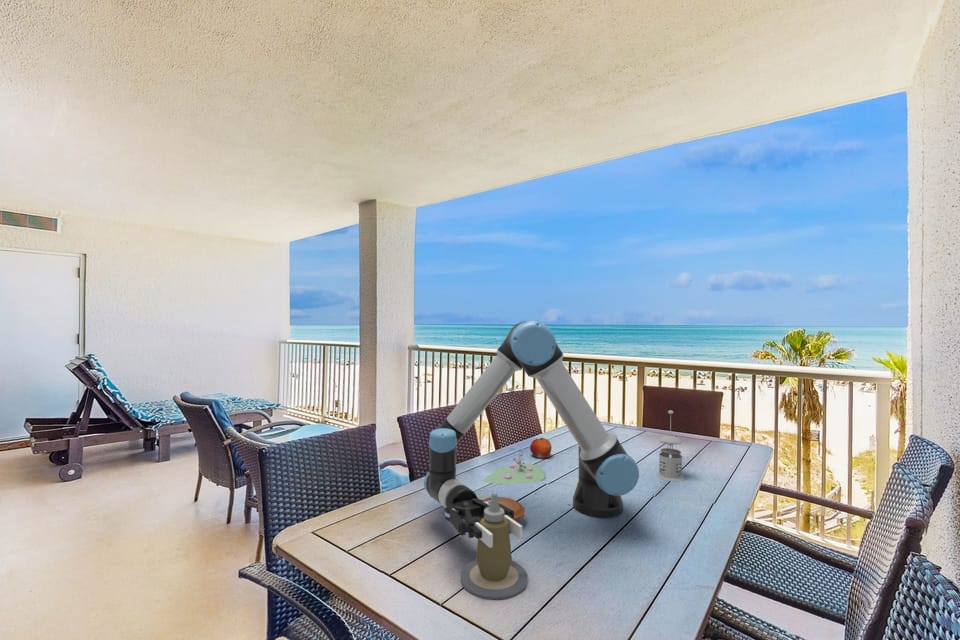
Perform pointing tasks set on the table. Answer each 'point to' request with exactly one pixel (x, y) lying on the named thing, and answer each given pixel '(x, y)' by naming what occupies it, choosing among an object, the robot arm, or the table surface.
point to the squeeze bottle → (494, 543)
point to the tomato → (541, 447)
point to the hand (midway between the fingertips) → (506, 536)
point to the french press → (670, 459)
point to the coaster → (494, 582)
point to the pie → (510, 507)
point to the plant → (516, 474)
